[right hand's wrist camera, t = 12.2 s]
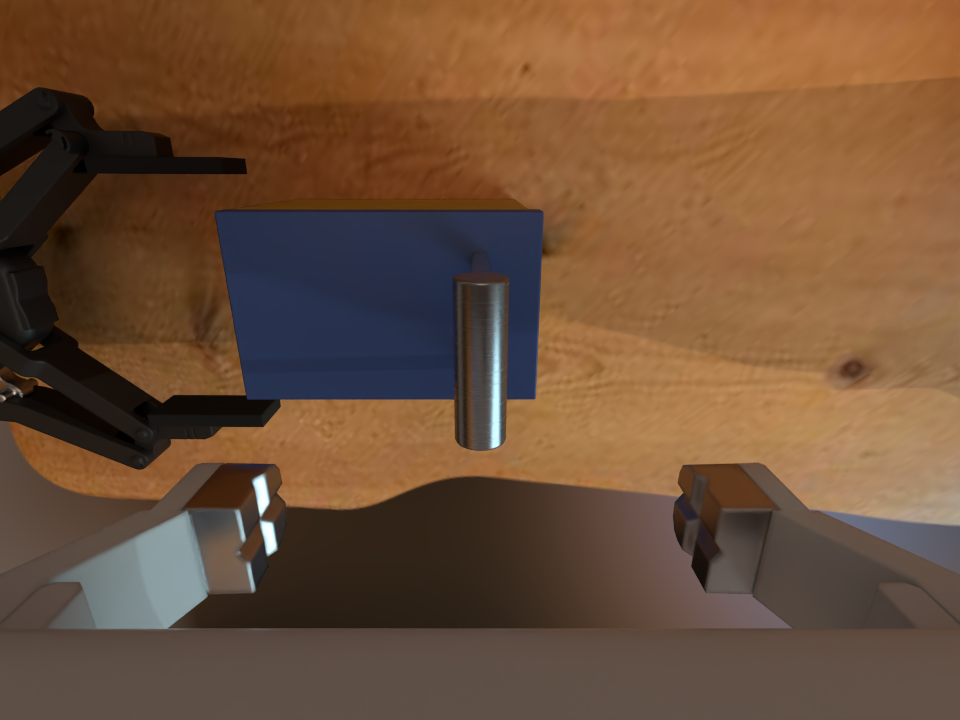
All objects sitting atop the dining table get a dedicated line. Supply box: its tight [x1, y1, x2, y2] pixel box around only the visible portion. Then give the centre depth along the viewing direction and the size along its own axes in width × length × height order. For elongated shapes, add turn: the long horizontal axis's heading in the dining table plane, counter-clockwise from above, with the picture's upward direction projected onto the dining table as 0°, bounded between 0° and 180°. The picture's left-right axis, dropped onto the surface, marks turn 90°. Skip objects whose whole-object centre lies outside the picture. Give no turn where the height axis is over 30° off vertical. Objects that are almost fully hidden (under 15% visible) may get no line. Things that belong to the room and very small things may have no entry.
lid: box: [215, 209, 543, 451], centre depth 21 cm, size 14×9×9 cm, turn 90°
